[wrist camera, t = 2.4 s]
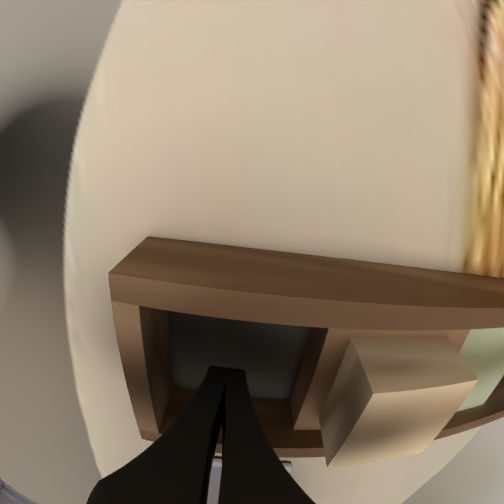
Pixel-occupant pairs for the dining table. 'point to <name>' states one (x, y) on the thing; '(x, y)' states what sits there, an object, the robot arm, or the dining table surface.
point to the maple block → (392, 398)
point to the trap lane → (288, 330)
